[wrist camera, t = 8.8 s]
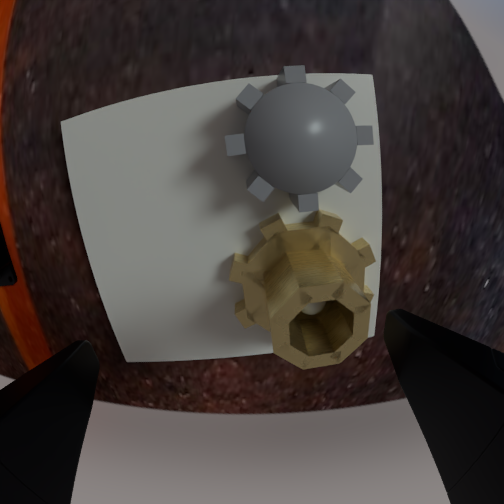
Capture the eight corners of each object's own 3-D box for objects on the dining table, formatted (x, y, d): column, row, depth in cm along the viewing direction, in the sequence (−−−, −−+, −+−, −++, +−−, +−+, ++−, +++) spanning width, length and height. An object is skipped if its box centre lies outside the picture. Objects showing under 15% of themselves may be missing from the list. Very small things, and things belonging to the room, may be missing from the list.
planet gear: (241, 343, 20) (242, 401, 15) (221, 219, 17) (213, 254, 12) (364, 325, 20) (392, 375, 15) (368, 203, 17) (413, 230, 12)
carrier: (132, 349, 22) (113, 391, 17) (72, 122, 16) (29, 122, 11) (367, 324, 21) (390, 364, 17) (362, 78, 15) (398, 64, 11)
